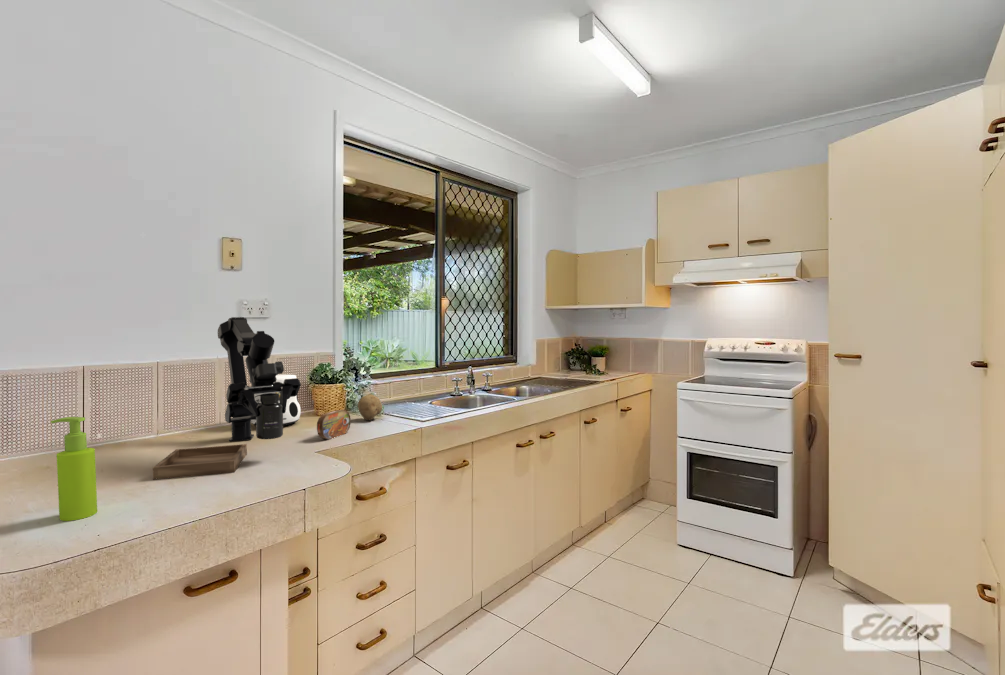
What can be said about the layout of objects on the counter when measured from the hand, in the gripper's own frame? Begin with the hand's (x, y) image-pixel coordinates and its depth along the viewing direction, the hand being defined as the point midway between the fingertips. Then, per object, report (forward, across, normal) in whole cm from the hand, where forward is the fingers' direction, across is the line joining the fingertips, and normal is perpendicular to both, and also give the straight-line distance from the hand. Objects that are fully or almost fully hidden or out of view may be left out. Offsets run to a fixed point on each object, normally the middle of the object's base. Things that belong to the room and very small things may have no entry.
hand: (271, 414), depth 138 cm
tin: (-2, +24, +22) cm, 33 cm away
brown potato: (-14, +45, +34) cm, 58 cm away
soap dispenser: (+19, -41, -1) cm, 46 cm away
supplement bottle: (+4, 0, +6) cm, 7 cm away
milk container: (-25, +15, +45) cm, 53 cm away
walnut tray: (+4, -15, +15) cm, 22 cm away
